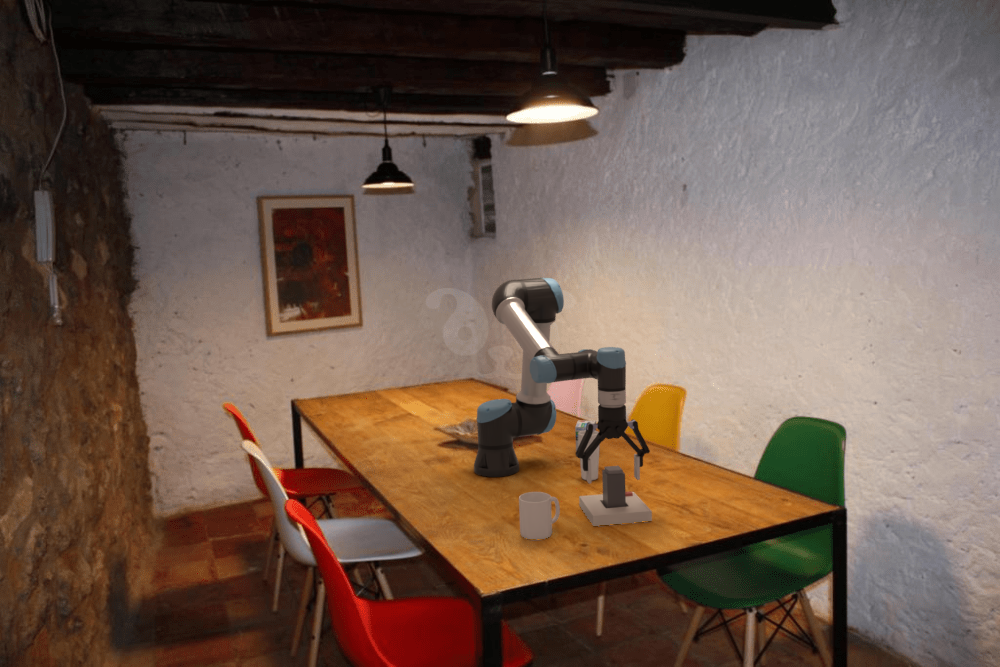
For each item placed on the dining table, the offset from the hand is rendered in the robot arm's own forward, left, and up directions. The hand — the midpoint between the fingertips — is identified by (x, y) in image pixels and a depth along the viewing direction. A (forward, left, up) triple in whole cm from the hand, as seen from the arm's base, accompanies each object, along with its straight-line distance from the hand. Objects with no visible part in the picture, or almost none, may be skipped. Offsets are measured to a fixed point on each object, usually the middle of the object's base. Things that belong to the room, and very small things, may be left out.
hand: (613, 480), depth 205 cm
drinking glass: (+1, +32, -10) cm, 33 cm away
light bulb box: (+7, +61, -10) cm, 62 cm away
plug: (0, 0, -10) cm, 10 cm away
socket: (0, 0, -10) cm, 10 cm away
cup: (-22, -9, -10) cm, 26 cm away
